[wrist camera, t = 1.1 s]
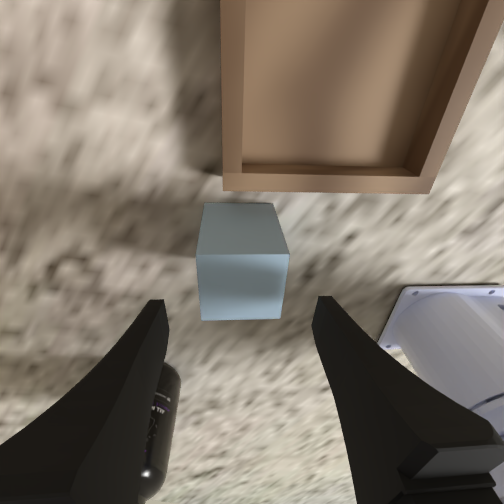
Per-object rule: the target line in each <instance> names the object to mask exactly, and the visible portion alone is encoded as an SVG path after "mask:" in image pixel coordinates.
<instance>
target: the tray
mask: <svg viewBox="0 0 504 504" xmlns="http://www.w3.org/2000/svg"><path fill="white" fill-rule="evenodd" d="M503 20H504V0H220V30H221V96H222V162H223V191H260V192H325V193H390V194H429V193H430V190H431V188H432V186H433V183H434V181H435V179H436V176H437V174H438V172H439V169H440V167H441V165H442V162H443V160H444V158H445V155H446V153H447V151H448V148H449V146H450V144H451V141H452V139H453V137H454V134H455V132H456V130H457V127H458V125H459V123H460V120H461V118H462V116H463V113H464V111H465V109H466V106H467V104H468V102H469V99H470V97H471V95H472V92H473V90H474V88H475V85H476V83H477V81H478V78H479V76H480V74H481V71H482V69H483V67H484V64H485V62H486V60H487V57H488V55H489V53H490V50H491V48H492V46H493V43H494V41H495V39H496V36H497V34H498V32H499V29H500V27H501V25H502V22H503Z"/></svg>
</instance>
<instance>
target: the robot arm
mask: <svg viewBox="0 0 504 504" xmlns="http://www.w3.org/2000/svg"><path fill="white" fill-rule="evenodd" d="M312 330H313V335H314V340H315V344H316V347H317V350H318V353H319V356H320V359H321V362H322V365H323V368H324V370H325V373H326V376H327V379H328V382H329V384H330V387H331V390H332V393H333V396H334V400H335V403H336V407H337V411H338V415H339V419H340V423H341V428H342V432H343V436H344V441H345V445H346V450H347V454H348V459H349V464H350V469H351V474H352V479H353V484H354V490H355V495H356V501H357V504H504V285H476V286H411V287H406V288H404V289H403V290H402V292H401V294H400V296H399V299H398V301H397V303H396V305H395V307H394V309H393V311H392V313H391V316H390V318H389V320H388V322H387V324H386V326H385V328H384V330H383V333H382V335H381V337H380V339H379V341H378V343H376V342H375V341H374V340H373V339H371V338H370V337H369V336H368V335H367V334H366V333H365V332H364V331H363V330H362V329H361V328H360V327H359V326H358V325H357V323H356V322H355V321H354V320H353V319H352V318H351V317H350V316H349V315H348V314H347V313H346V312H345V311H344V309H343V308H342V307H341V306H340V305H339V304H338V303H337V302H336V301H335V300H334V299H333V297H332V296H319V297H318V301H317V305H316V309H315V313H314V317H313V321H312ZM168 337H169V324H168V319H167V314H166V308H165V303H164V299H162V300H149V301H148V302H147V304H146V305H145V307H144V308H143V309H142V311H141V312H140V314H139V315H138V316H137V318H136V319H135V320H134V322H133V323H132V324H131V326H130V327H129V328H128V329H127V331H126V332H125V333H124V334H123V336H122V337H121V338H120V339H119V341H118V342H117V343H116V344H115V345H114V346H113V347H112V349H111V350H110V351H109V352H108V353H107V354H106V355H105V357H104V358H103V359H102V360H101V361H100V362H99V363H98V364H97V365H96V366H95V367H94V368H93V369H92V370H91V371H90V372H89V373H88V374H87V375H86V376H85V377H84V378H83V379H82V380H81V381H80V382H79V383H78V384H76V385H75V386H74V387H73V388H72V389H71V390H70V391H69V392H68V393H67V394H65V395H64V396H63V397H62V398H61V399H60V400H58V401H57V402H56V403H55V404H54V405H52V406H51V407H50V408H49V409H47V410H46V411H45V412H44V413H42V414H41V415H40V416H39V417H38V418H36V419H35V420H34V421H33V422H31V423H30V424H29V425H27V426H26V427H25V428H23V429H22V430H21V431H19V432H18V433H16V434H15V435H14V436H12V437H11V438H9V439H8V440H7V441H5V442H4V443H3V444H1V445H0V504H137V502H138V494H139V487H140V480H141V472H142V465H143V458H144V452H145V445H146V439H147V433H148V427H149V421H150V415H151V409H152V405H153V400H154V397H155V393H156V389H157V385H158V382H159V378H160V374H161V370H162V367H163V363H164V359H165V355H166V351H167V344H168ZM383 349H402V351H403V352H404V354H405V356H406V357H407V359H408V360H409V362H410V364H411V365H412V367H413V369H414V370H415V372H416V373H417V375H418V376H416V375H415V374H413V373H412V372H411V371H409V370H408V369H407V368H405V367H404V366H403V365H401V364H400V363H399V362H398V361H397V360H395V359H394V358H393V357H392V356H390V355H389V354H388V353H387V352H386V351H385V350H383Z"/></svg>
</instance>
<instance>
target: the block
mask: <svg viewBox="0 0 504 504" xmlns="http://www.w3.org/2000/svg"><path fill="white" fill-rule="evenodd" d="M289 257H290V253H289V250H288V247H287V244H286V241H285V238H284V235H283V232H282V229H281V226H280V223H279V220H278V217H277V214H276V211H275V208H274V205H273V204H268V203H204V209H203V215H202V221H201V226H200V232H199V238H198V244H197V250H196V265H197V276H198V288H199V300H200V312H201V321H208V320H248V319H280V317H281V311H282V304H283V297H284V290H285V284H286V277H287V270H288V263H289Z"/></svg>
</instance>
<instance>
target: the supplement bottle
mask: <svg viewBox="0 0 504 504" xmlns="http://www.w3.org/2000/svg"><path fill="white" fill-rule="evenodd" d="M180 388H181V379H180V376H179V374H178V373H177V372H176V370H175V369H173V368H172V367H171V366H169V365H167V364H165V363H163V367H162V370H161V374H160V378H159V382H158V385H157V389H156V393H155V397H154V400H153V405H152V409H151V415H150V421H149V427H148V433H147V439H146V445H145V452H144V458H143V465H142V472H141V480H140V487H139V494H138V502H137V504H145V502H146V501H147V500H149V499H150V498H152V497H153V496H154V495H155V494H156V493H157V492H158V491H159V490H160V488H161V487H162V485H163V483H164V481H165V478H166V473H167V468H168V462H169V456H170V450H171V444H172V438H173V432H174V426H175V420H176V413H177V407H178V401H179V395H180Z"/></svg>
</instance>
